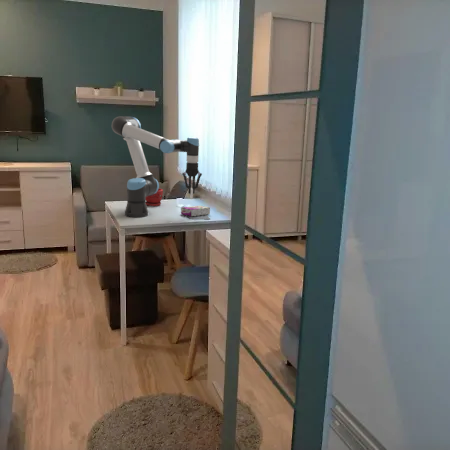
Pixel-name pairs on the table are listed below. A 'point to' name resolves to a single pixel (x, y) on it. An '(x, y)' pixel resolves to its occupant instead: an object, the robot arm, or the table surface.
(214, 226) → the table surface
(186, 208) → the candy bar box
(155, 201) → the plant pot
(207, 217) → the rubber mat
